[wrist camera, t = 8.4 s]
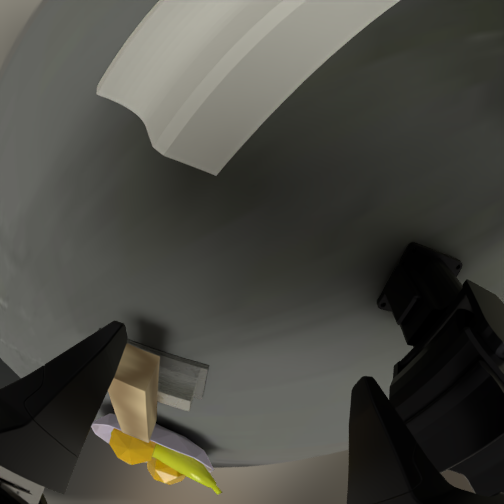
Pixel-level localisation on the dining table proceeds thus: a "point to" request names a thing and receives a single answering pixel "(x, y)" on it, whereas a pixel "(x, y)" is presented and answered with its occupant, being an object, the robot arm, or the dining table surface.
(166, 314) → the dining table surface
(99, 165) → the dining table surface
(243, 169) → the dining table surface
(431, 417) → the robot arm
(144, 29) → the crown molding
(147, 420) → the oak batten
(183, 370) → the fulcrum stand
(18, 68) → the dining table surface
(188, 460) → the fruit bowl
